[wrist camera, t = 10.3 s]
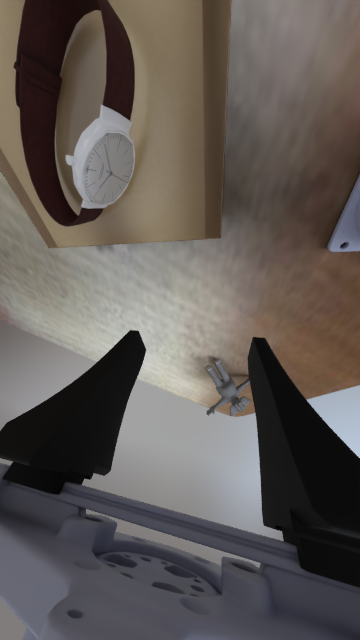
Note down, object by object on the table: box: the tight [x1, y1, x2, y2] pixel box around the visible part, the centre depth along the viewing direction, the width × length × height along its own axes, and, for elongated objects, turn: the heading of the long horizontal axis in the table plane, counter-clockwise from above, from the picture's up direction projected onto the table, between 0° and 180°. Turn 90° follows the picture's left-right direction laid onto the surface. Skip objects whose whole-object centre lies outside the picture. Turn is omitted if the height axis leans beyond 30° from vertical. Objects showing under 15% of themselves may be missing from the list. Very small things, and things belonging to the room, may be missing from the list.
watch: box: [13, 0, 135, 227], centre depth 7 cm, size 8×5×4 cm, turn 146°
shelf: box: [0, 0, 231, 248], centre depth 10 cm, size 13×10×5 cm
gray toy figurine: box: [205, 359, 250, 416], centre depth 28 cm, size 10×6×9 cm
